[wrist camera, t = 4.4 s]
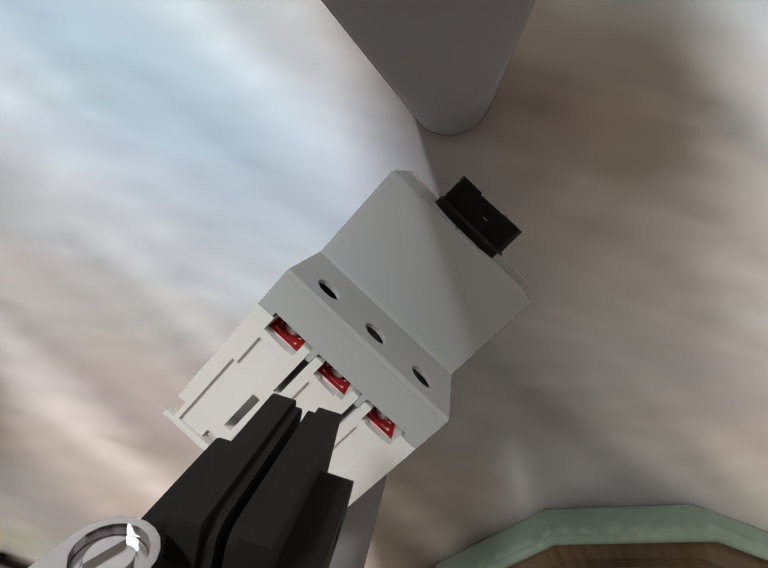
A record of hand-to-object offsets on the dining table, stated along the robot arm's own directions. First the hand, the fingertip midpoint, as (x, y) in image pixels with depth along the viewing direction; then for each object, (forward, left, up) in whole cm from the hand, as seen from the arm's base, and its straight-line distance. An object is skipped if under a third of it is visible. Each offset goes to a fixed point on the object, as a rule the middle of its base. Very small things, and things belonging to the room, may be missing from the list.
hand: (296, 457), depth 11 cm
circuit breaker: (0, 0, -20) cm, 20 cm away
